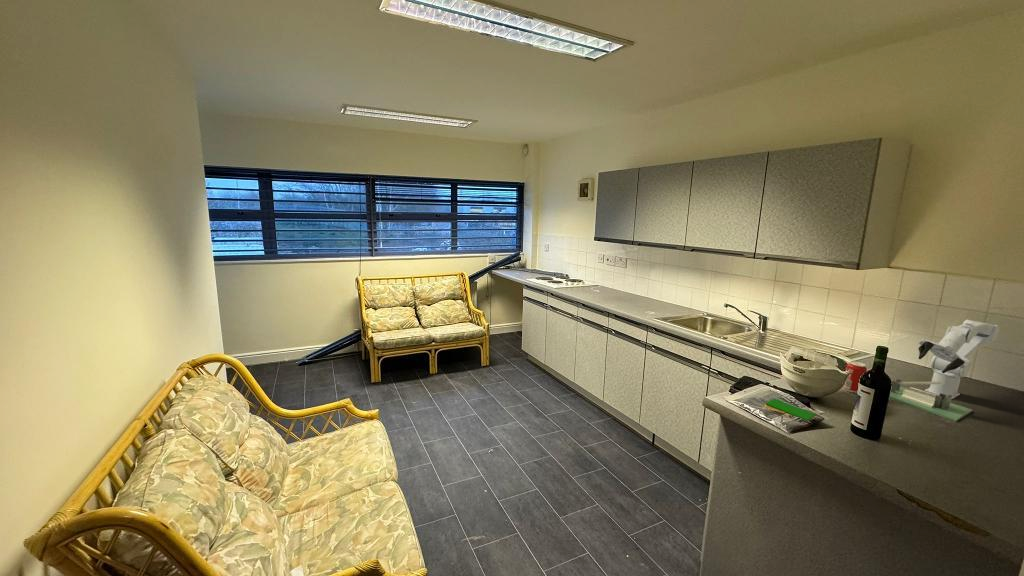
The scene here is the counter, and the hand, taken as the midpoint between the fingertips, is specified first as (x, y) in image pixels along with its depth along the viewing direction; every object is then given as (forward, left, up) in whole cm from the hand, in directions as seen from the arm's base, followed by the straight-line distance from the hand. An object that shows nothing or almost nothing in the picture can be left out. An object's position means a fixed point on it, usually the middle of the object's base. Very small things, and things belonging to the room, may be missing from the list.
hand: (932, 364), depth 152 cm
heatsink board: (-2, -1, -17) cm, 17 cm away
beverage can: (+12, -18, -17) cm, 27 cm away
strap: (-2, -3, -10) cm, 10 cm away
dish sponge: (+56, -19, -17) cm, 62 cm away
